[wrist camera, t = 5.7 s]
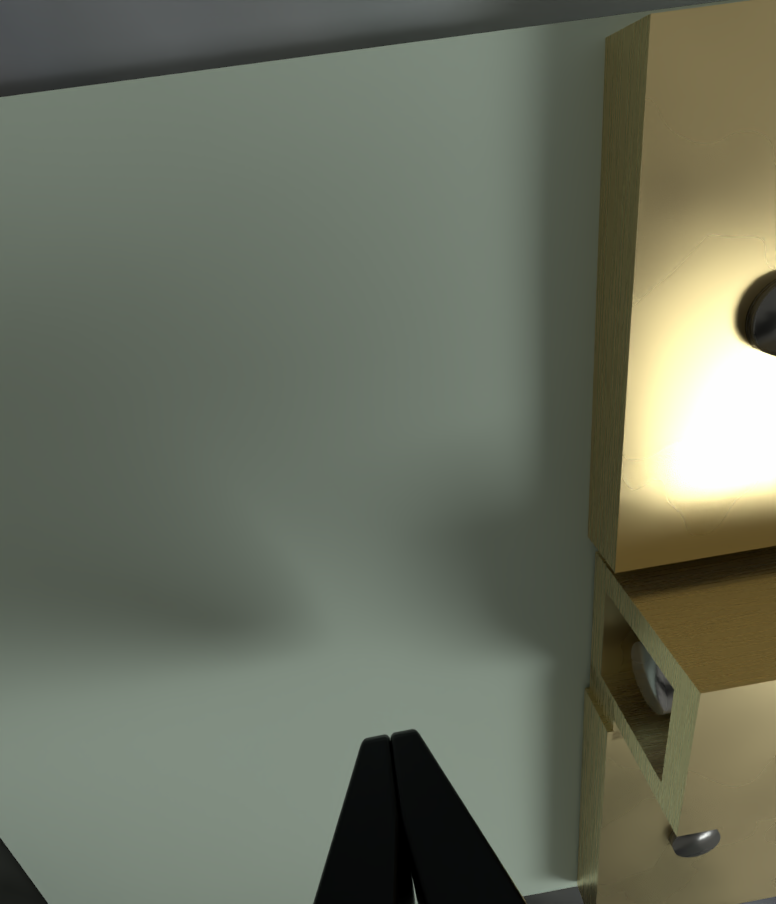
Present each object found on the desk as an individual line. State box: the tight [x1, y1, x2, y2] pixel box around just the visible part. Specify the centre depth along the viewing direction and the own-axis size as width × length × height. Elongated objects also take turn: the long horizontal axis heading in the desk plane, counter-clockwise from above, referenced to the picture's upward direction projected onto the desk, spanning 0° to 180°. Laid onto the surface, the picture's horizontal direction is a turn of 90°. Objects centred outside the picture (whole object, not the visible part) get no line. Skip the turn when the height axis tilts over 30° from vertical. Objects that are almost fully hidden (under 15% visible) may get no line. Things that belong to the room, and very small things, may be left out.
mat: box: [0, 0, 749, 904], centre depth 11 cm, size 26×18×1 cm
